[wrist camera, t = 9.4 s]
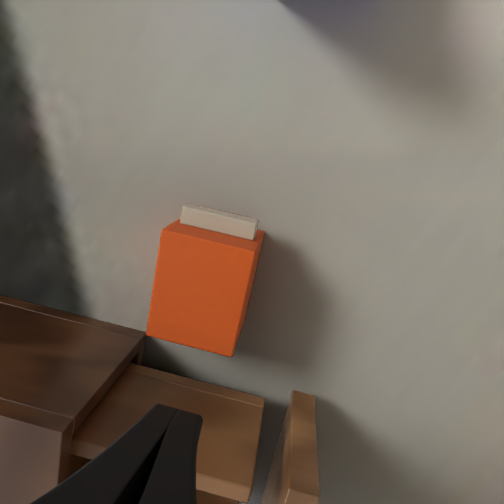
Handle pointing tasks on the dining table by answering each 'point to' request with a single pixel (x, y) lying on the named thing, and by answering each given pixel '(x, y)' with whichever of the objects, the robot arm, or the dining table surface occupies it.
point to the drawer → (211, 435)
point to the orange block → (204, 279)
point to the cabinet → (51, 389)
